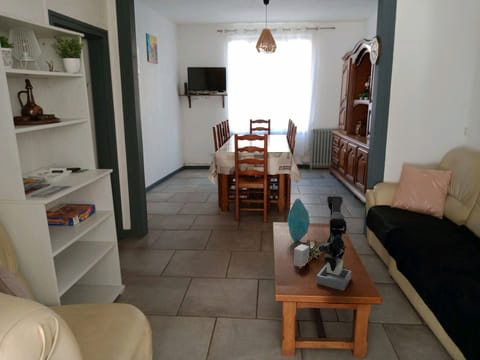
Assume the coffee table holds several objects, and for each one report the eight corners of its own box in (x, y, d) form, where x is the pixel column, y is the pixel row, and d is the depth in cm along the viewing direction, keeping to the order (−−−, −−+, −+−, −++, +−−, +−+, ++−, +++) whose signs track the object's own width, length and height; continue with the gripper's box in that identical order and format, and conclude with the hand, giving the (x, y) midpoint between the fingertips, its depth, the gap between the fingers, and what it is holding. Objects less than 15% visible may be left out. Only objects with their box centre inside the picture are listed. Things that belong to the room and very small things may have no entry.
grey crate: (325, 271, 197) (325, 264, 196) (350, 278, 190) (351, 270, 189) (316, 283, 186) (316, 275, 185) (343, 290, 179) (343, 282, 178)
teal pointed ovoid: (309, 245, 231) (311, 201, 224) (288, 245, 231) (289, 201, 224) (306, 237, 243) (308, 195, 235) (286, 238, 243) (287, 195, 236)
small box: (300, 260, 212) (301, 243, 209) (309, 262, 208) (309, 246, 205) (293, 265, 206) (294, 248, 203) (302, 268, 202) (302, 251, 200)
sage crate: (330, 267, 191) (330, 256, 190) (342, 269, 188) (342, 259, 186) (326, 272, 186) (327, 261, 184) (338, 275, 183) (339, 264, 181)
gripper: (326, 231, 194) (325, 257, 198) (314, 244, 179) (313, 272, 183) (347, 235, 189) (345, 262, 193) (336, 249, 173) (335, 277, 177)
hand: (334, 268), depth 186 cm, fingers closed on sage crate, 6 cm apart
